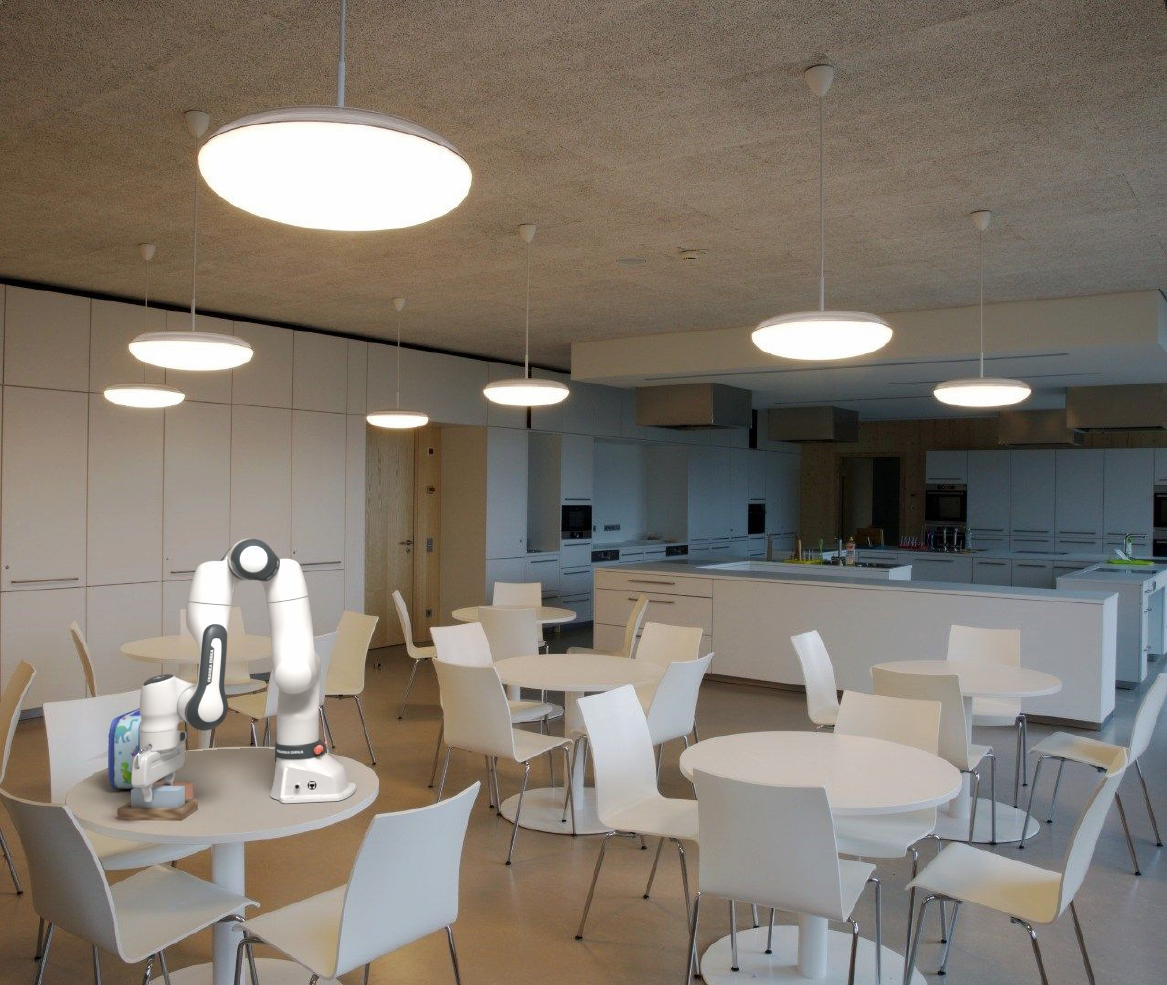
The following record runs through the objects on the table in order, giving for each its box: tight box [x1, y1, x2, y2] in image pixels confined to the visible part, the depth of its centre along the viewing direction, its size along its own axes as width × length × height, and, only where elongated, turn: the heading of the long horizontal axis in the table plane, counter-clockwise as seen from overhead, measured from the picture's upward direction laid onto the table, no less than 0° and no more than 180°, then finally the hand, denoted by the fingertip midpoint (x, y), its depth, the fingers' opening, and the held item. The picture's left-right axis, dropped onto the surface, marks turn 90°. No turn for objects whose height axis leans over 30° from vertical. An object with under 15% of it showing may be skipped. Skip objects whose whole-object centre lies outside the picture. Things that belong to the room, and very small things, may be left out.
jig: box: [116, 798, 199, 821], centre depth 235 cm, size 16×8×3 cm, turn 87°
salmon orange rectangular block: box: [152, 781, 194, 799], centre depth 246 cm, size 12×4×5 cm, turn 87°
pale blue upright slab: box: [130, 786, 185, 808], centre depth 236 cm, size 12×4×6 cm, turn 85°
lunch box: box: [107, 707, 141, 790], centre depth 266 cm, size 26×11×21 cm, turn 3°
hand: (158, 795), depth 236 cm, fingers open, 8 cm apart
